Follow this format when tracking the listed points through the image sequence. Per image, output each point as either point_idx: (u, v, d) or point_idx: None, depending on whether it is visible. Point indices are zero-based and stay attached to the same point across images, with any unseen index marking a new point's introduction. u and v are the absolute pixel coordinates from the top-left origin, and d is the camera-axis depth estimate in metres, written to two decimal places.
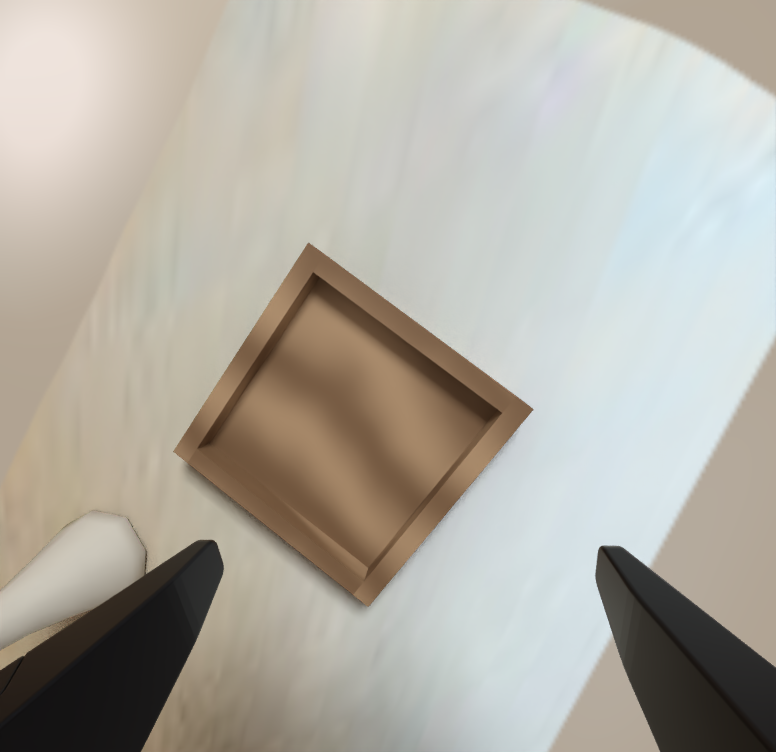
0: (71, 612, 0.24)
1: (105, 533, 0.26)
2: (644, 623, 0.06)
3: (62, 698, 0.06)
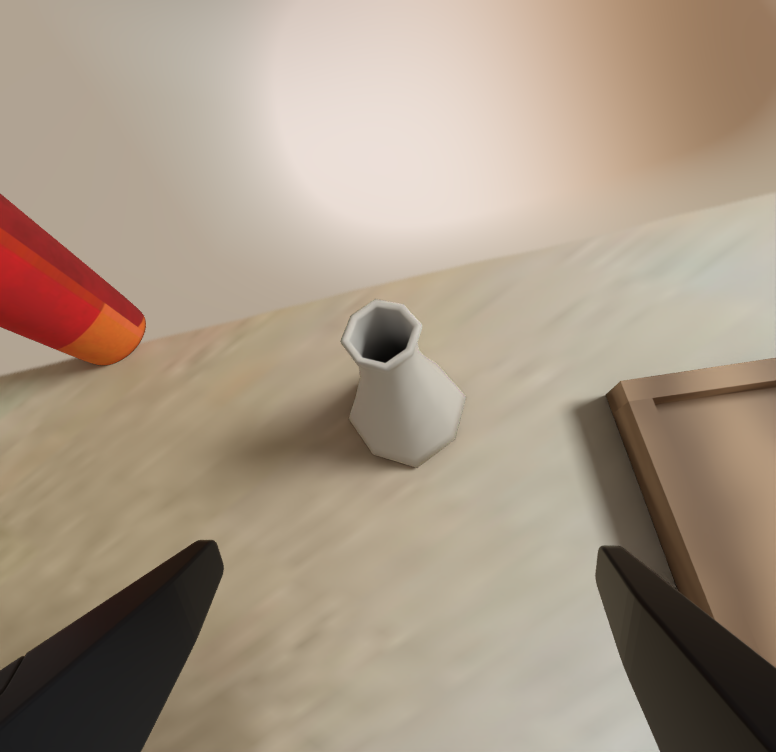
0: (408, 420, 0.19)
1: (458, 390, 0.22)
2: (644, 623, 0.06)
3: (62, 698, 0.06)
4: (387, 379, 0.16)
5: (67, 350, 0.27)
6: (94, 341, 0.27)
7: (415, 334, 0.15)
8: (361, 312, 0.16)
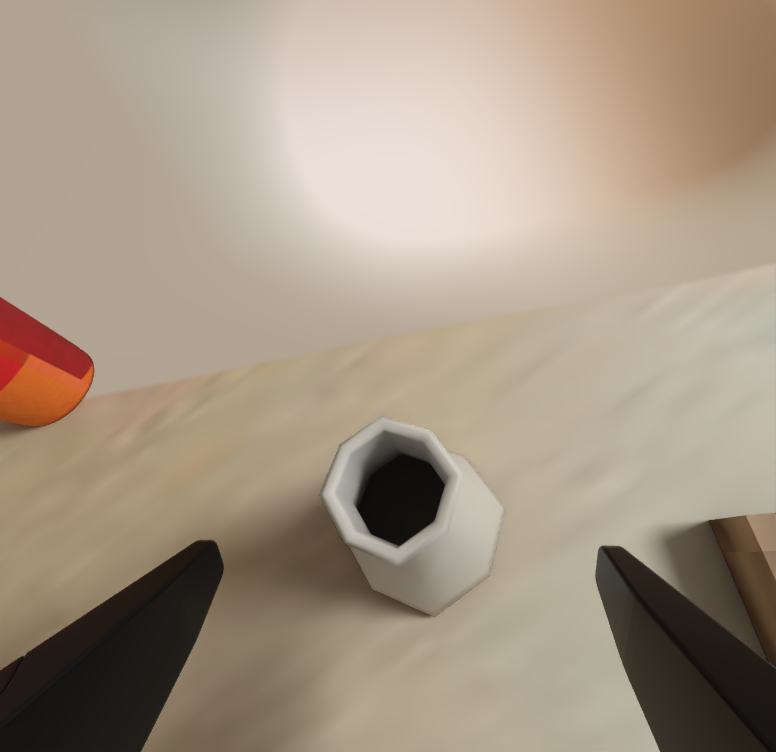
0: (427, 577, 0.12)
1: (496, 506, 0.16)
2: (644, 623, 0.06)
3: (62, 698, 0.06)
4: (398, 546, 0.10)
5: None
6: (14, 402, 0.20)
7: (452, 495, 0.08)
8: (358, 440, 0.09)
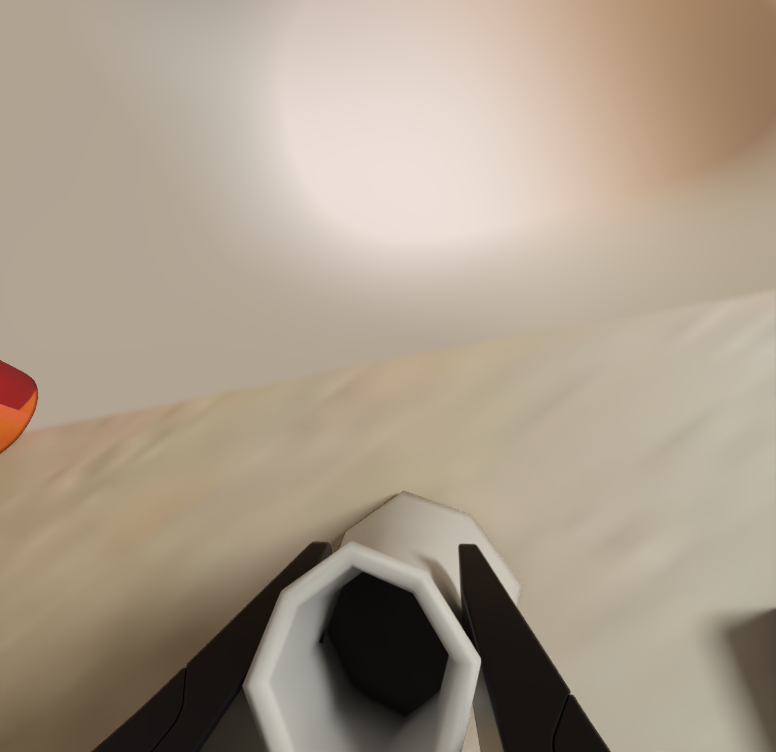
0: None
1: (512, 591, 0.12)
2: (465, 615, 0.07)
3: (239, 713, 0.05)
4: (377, 733, 0.06)
5: None
6: None
7: (462, 705, 0.05)
8: (309, 586, 0.06)
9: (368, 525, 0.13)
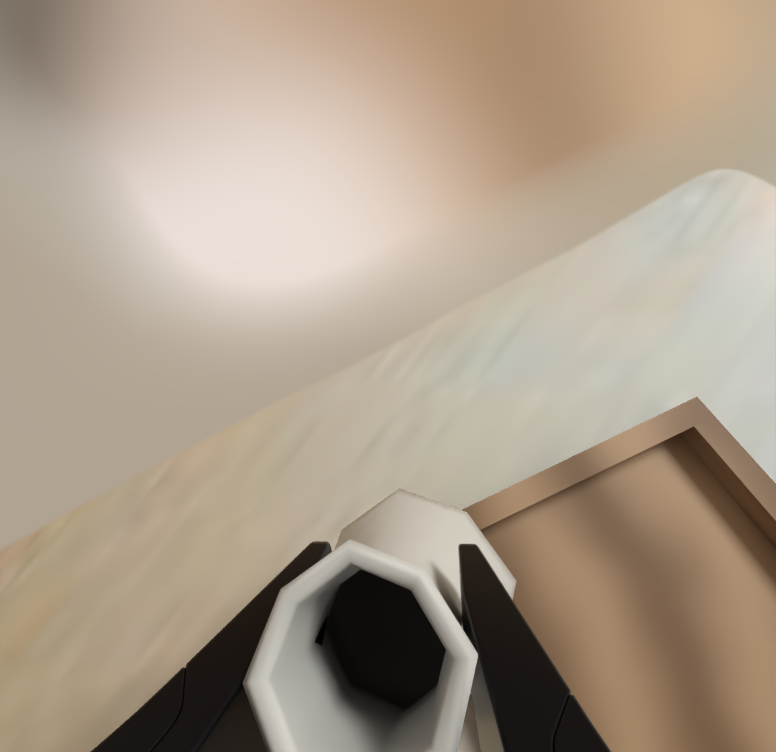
0: None
1: (507, 587, 0.12)
2: (465, 615, 0.07)
3: (238, 714, 0.05)
4: (376, 728, 0.06)
5: None
6: None
7: (460, 699, 0.05)
8: (308, 584, 0.06)
9: (364, 523, 0.13)
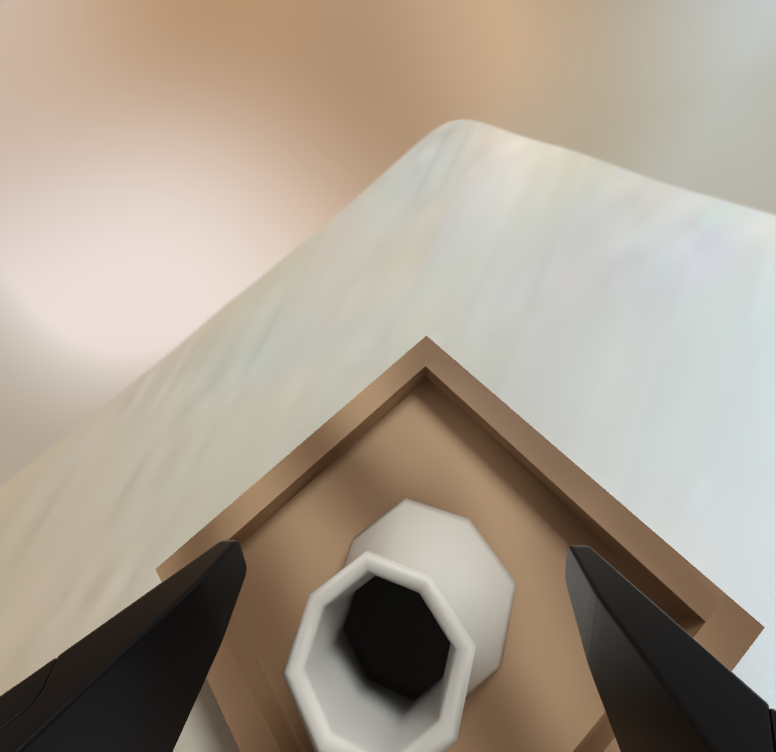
0: None
1: (507, 588, 0.13)
2: (604, 621, 0.06)
3: (97, 701, 0.06)
4: (392, 712, 0.08)
5: None
6: None
7: (462, 681, 0.06)
8: (333, 590, 0.07)
9: (374, 532, 0.14)
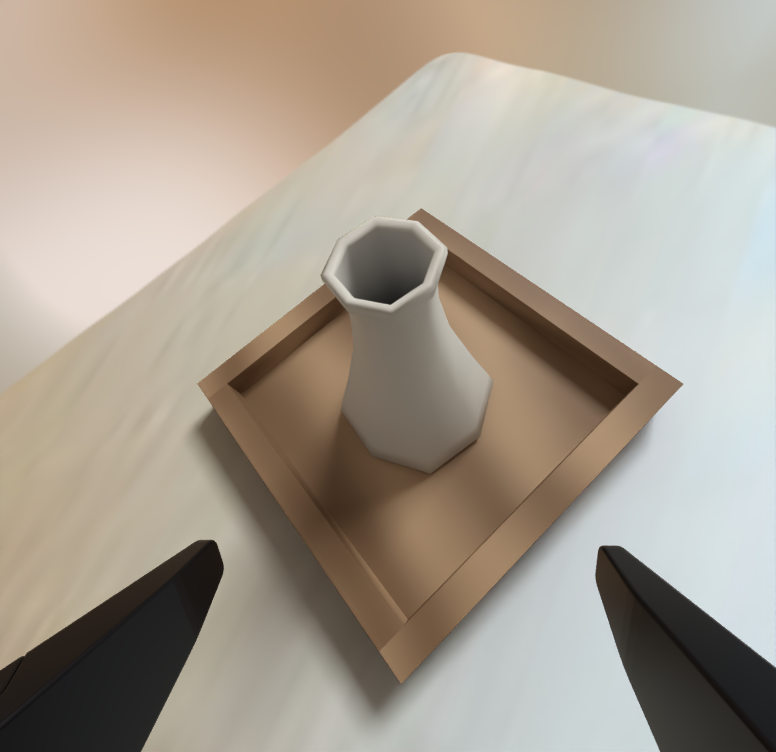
0: (420, 406, 0.14)
1: (484, 370, 0.17)
2: (644, 623, 0.06)
3: (62, 698, 0.06)
4: (393, 340, 0.11)
5: None
6: None
7: (437, 261, 0.09)
8: (353, 234, 0.10)
9: None
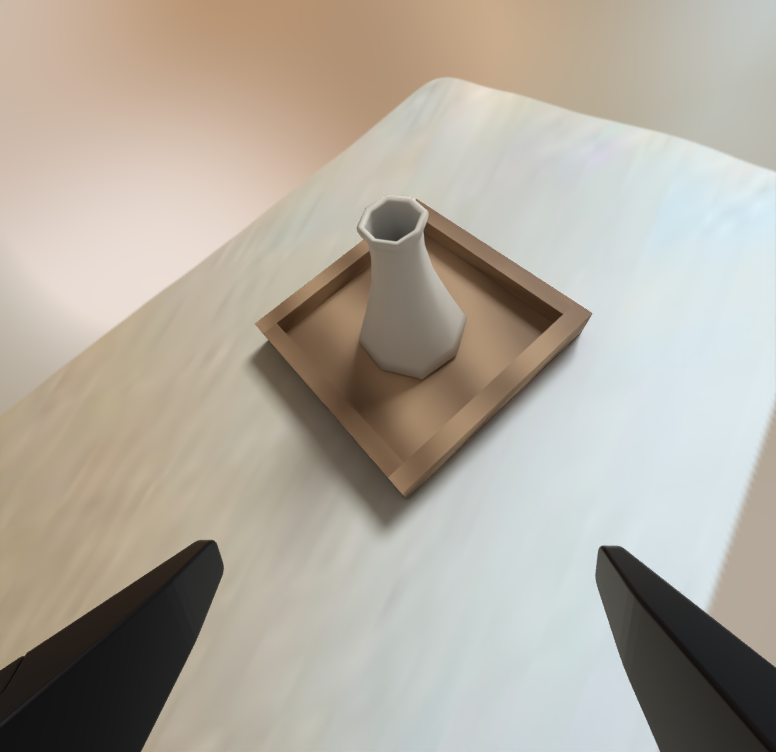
0: (414, 320, 0.21)
1: (459, 307, 0.24)
2: (644, 623, 0.06)
3: (62, 698, 0.06)
4: (397, 268, 0.18)
5: None
6: None
7: (422, 218, 0.17)
8: (374, 205, 0.18)
9: None
